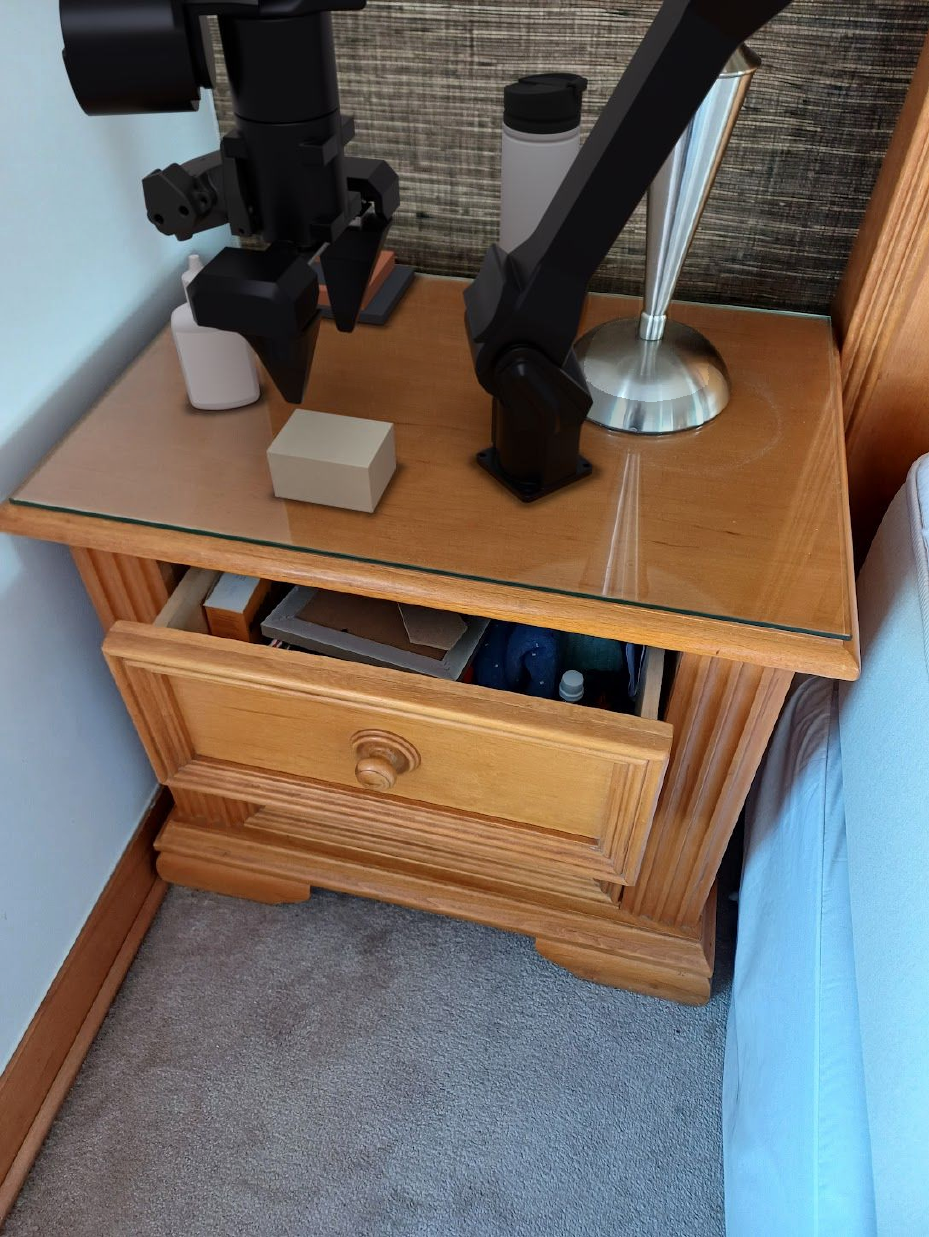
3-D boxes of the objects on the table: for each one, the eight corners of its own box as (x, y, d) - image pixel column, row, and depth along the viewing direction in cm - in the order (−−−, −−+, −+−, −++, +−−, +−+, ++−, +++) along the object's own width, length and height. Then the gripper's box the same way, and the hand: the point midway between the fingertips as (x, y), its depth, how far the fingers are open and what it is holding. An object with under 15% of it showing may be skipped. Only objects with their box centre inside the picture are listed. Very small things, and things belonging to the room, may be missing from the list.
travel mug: (547, 341, 81) (564, 92, 66) (485, 322, 83) (487, 78, 69) (580, 312, 84) (603, 70, 70) (519, 294, 87) (529, 57, 72)
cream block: (396, 467, 68) (393, 422, 65) (372, 513, 64) (367, 467, 61) (303, 453, 69) (296, 408, 66) (275, 496, 66) (265, 451, 63)
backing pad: (415, 276, 89) (414, 252, 88) (383, 325, 83) (381, 300, 81) (275, 260, 92) (271, 235, 90) (232, 306, 85) (227, 280, 84)
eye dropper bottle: (244, 419, 72) (213, 275, 64) (182, 407, 74) (144, 264, 65) (268, 390, 75) (242, 248, 67) (208, 380, 77) (174, 239, 68)
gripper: (225, 47, 56) (266, 287, 68) (57, 154, 44) (141, 426, 55) (395, 60, 54) (408, 305, 65) (269, 176, 42) (312, 453, 53)
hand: (321, 365), depth 60 cm, fingers open, 9 cm apart
